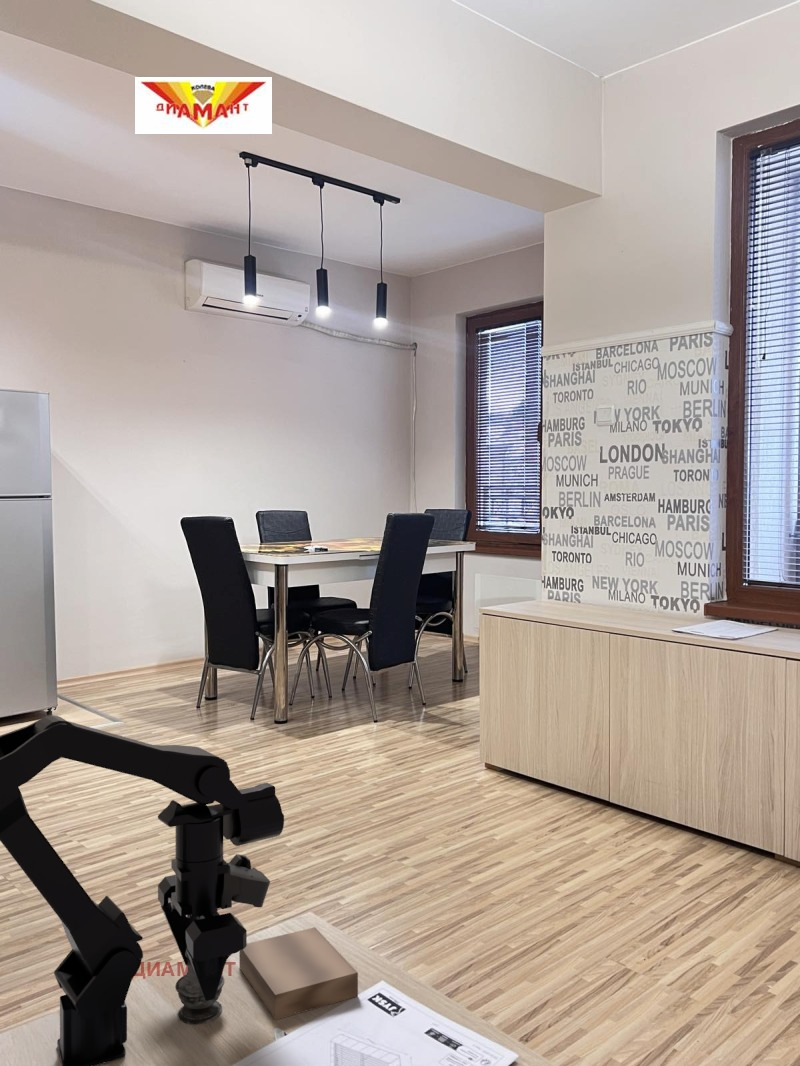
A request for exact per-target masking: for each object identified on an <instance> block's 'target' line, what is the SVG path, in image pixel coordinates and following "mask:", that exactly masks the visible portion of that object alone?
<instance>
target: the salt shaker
mask: <svg viewBox="0 0 800 1066" xmlns="http://www.w3.org/2000/svg"><path fill="white" fill-rule="evenodd" d="M185 956H186V957H187V958H188V966H187V971H186V974H185V975H183V976H181V977H180V978H179V979H178V980H177V981H176V983H175V991H176V992H177V995H178V997H179V1000H180V1002H181V1003H182V1004H183V1005H182V1006H181V1007H180V1008H179V1010H178V1012H177V1017H178V1019H179V1020H180V1021H181V1022H182V1023H184V1024H189V1025H202V1024H207V1023H210V1022H213V1021H215V1020H216V1019H217V1018H219V1017H220V1015H221V1014H222V1012H223V1006H222V1004H221V1003H220V1002H219V1001H218V999H220V998H219V997H220V996H221V993H222V991H223V988H224V985H225V980H226V979H225V977H224V976H223V975H222V976H221V979H220V983H219V986H218V989H217V993H216V996H215V998H214V999H212V1000H209V1001H206V1000H205V998H204V995H203V993H202V990H201V988H200V985H199V983H198V980H197V977H196V975H195V972H194V969H193V967H192V964H191V962H190V959H189V957H188V954H187V951H186V952H185Z"/></svg>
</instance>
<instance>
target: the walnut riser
mask: <svg viewBox="0 0 800 1066" xmlns="http://www.w3.org/2000/svg"><path fill="white" fill-rule="evenodd" d="M240 968H241V969H240ZM239 969H240V970H241V972H242V973H243V975H244V976H245V978H246V979H247V980H248V982H249V984H250V985H251V986H252V988H253V989H254V991H255V992H256V994H257V995H258V996H259V998H260V999H261V1001H262V1003H263V1005H265V1007H266V1008H267V1010H268V1011H269V1013H270V1014H271V1016H272V1017H273V1019H274V1020H279V1019H282V1018H286V1017H290V1016H293V1015H297V1014H300V1013H304V1012H307V1011H310V1010H314V1009H318V1008H322V1007H325V1006H329V1005H331V1004H335V1003H338V1002H342V1001H346V1000H349V999H352V998H356V997H358V995H359V972H358V971H357V970H356V968H354V967H353V966H352V964H351V963H350V962H349V961H348V960H347V959H346V958H345V957H344V955H342V954H341V953H340V951H338V950H337V948H335V946H334V945H332V943H330V941H329V940H328V939H327V937H325V936H324V935H323V934H322V933H321V931H320V930H318V929H317V928H316V927H312V928H311V927H310V928H306V929H303V930H298V931H293V932H289V933H285V934H281V935H277V936H273V937H269V938H264V939H259V940H257V941H256V940H255V941H251V942H248V943H247V946H246V947H245V948H244V949H242V950H240V951H239Z"/></svg>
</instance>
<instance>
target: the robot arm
mask: <svg viewBox="0 0 800 1066" xmlns="http://www.w3.org/2000/svg"><path fill="white" fill-rule="evenodd" d="M61 758H63V759H68V760H71V761H74V762H79V763H83V764H87V765H90V766H94V767H99V768H102V769H106V770H110V771H115V772H118V773H122V774H126V775H129V776H130V775H131V776H134V777H137V778H143V779H145V780H150V781H153V782H155V783H156V784H159V785H161V786H162V787H164V788H167V789H169V790H170V791H172V792H175V793H177V794H178V795H181V796H182V797H185V798H186V799H189V800H191V801H193V802H192V803H187V804H180V803H179V802H177V801H176V800H174V799H172V800H170V802H169V804H168V805H167V806H166V807H165V808H164V809H163V810H162V811H161V812H159V814H157V820H159V821H160V822H161V823H163V824H165V825H166V826H167V827H170V828H174V827H175V858H173V859H171V860H170V861H171V862H170V863H171V867H170V868H171V869H172V871H173V872H174V873H175V874H174V875H167V876H164V877H163V879H162V880H161V881H160V882H159V883H158V884H157V900H158V901H159V903H160V908H161V910H162V912H163V915H164V918H165V920H166V922H167V925H168V927H169V930H170V932H171V934H172V936H173V938H174V941H175V943H176V945H177V948H178V950H179V953H180V956H181V957H182V960H183V963H184V965H185V966H187V967H188V958H187V957H186V956H185V952H186V951H187V954H188V957H189V959H190V962H191V964H192V967H193V969H194V972H195V975H196V977H197V980H198V983H199V985H200V988H201V990H202V993H203V995H204V998H205V1000H206V1001H209V1000H212V999H214V998H215V996H216V993H217V989H218V986H219V983H220V979H221V976H223V972H224V969H225V967H226V963H227V961H228V959H229V958H230V957H231V956H232V955H233V954H237V953H238V952H239V951H240V950H242V949H244V948H245V947H246V946H247V941H248V940H247V931H248V930H247V928H246V927H245V926H244V925H243V923H242V922H241V921H240V920H239V919H238V917H236V916H235V915H234V914H232V913H231V912H226V913H222V914H220V913H219V912H218V909H221V910H226V909H231V908H233V907H232V906H233V905H232V904H233V903H232V902H234V903H239V904H246V905H252V906H253V907H254V908H262V907H263V906H264V903H265V899H266V897H267V894H268V890H269V888H270V884H271V880H270V879H269V878H268V877H267V876H266V875H265V874H264V873H263V872H262V871H261V870H258V868H256V867H252V864H251V863H252V862H251V859H250V858H249V857H247V856H246V855H243V854H239V853H237V854H235V855H234V856H233V857H232V858H231V860H230V861H229V862H227V861H226V860H225V859H224V838H225V839H226V840H230V842H231V843H232V845H234V846H235V847H240V846H245V845H248V844H252V843H256V842H259V841H264V840H268V839H273V838H277V837H279V836H280V835H282V832H283V831H284V830H283V829H284V825H285V815H284V813H283V810H282V806H281V803H280V800H279V798H278V797H277V795H276V787H275V786H274V785H273V784H271V783H268V782H264V783H259V784H257V785H255V786H252V787H246V788H240V789H238V787H237V786H236V785H235V784H234V782H233V781H232V780H231V771H230V767H229V764H228V762H227V761H225V759H223V758H221V757H219V756H217V755H215V754H213V753H211V752H210V751H207V750H205V749H204V748H201V747H198V746H192V745H181V744H179V745H178V744H167V745H165V744H163V745H160V744H151V743H148V742H144V741H140V740H137V739H133V738H130V737H126V736H122V735H120V734H116V733H111V732H109V731H108V732H107V731H104V730H102V729H97V728H94V727H90V726H87V725H82V724H79V723H76V722H72V721H69V720H66V719H65V718H63V717H61V716H59V715H52V714H50V715H47V716H44V717H41V718H40V719H38V720H37V721H36V720H35V721H34V722H32V723H30V724H28V725H27V726H23V727H20V728H18V729H14V730H12V731H9V732H6V733H3V734H1V735H0V842H1V844H2V845H3V847H4V848H5V849H6V850H7V852H8V853H9V854H10V855H11V856H12V858H13V860H14V861H15V863H16V864H17V865H18V866H19V868H20V869H21V870H22V872H24V874H25V875H26V877H28V879H29V881H30V882H31V883H32V884H33V886H35V888H36V889H37V891H38V892H39V894H40V895H41V896H42V898H44V900H45V901H46V902H47V904H48V905H49V907H51V909H52V910H53V912H54V913H55V914H56V916H57V917H58V918H59V920H60V922H61V923H62V926H63V930H64V933H65V936H66V938H67V940H68V942H69V944H70V947H71V950H70V951H69V952H68V954H67V955H66V957H64V959H62V961H61V963H60V964H59V965H58V966H57V967H56V969H55V970H54V971H53V975H54V977H55V980H56V982H57V984H58V986H59V988H60V989H61V990H63V992H64V994H63V995H60V996H59V1038H58V1039H57V1042H56V1043H57V1049H58V1054H59V1057H60V1063H61V1066H98V1065H103V1064H106V1063H108V1062H112V1061H116V1060H119V1059H122V1058H125V1056H126V1049H125V1045H124V1044H125V1043H127V1041H128V1007H127V1004H126V999H127V996H128V993H129V990H130V986H131V983H132V980H133V978H134V977H135V976H136V975H137V973H138V971H139V970H140V967H141V964H142V960H143V958H144V954H143V949H142V947H141V945H140V943H139V942H141V941H143V936H142V935H141V933H139V932H138V931H137V930H136V929H135V927H133V926H132V924H131V923H130V922H129V920H128V918H127V916H126V914H125V913H124V911H123V910H122V909H121V908H120V907H119V906H118V905H117V904H116V903H115V902H114V901H113V900H112V898H110V897H109V896H108V895H106V896H105V897H104V898H103V899H102V900H101V901H100V902H99V903H97V902H95V900H93V899H92V898H91V896H90V895H89V894H88V893H87V891H86V890H85V889H84V888H83V886H82V885H81V883H80V882H79V880H78V879H77V878H76V876H74V874H73V872H72V871H71V870H70V869H69V867H68V865H66V864H65V862H64V860H63V859H62V858H61V856H60V855H59V853H57V851H56V850H55V848H54V847H53V845H52V844H51V843H50V842H49V841H48V839H47V838H46V836H45V835H44V834H43V832H42V831H41V829H40V828H39V827H38V825H37V824H36V822H34V820H33V819H32V817H31V816H30V813H29V812H28V809H27V806H26V804H25V801H24V797H23V795H22V792H21V790H20V788H19V787H22V786H23V785H24V784H26V783H28V782H30V781H31V780H32V779H34V777H36V776H37V775H38V774H39V773H41V772H42V771H43V770H45V769H46V768H47V767H49V766H50V765H51V764H52V763H54V762H55V761H58V760H59V759H61ZM214 802H216V803H217V804H214ZM211 804H212V805H211Z"/></svg>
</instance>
